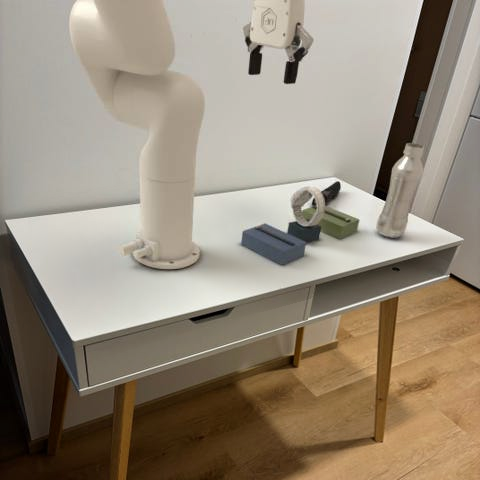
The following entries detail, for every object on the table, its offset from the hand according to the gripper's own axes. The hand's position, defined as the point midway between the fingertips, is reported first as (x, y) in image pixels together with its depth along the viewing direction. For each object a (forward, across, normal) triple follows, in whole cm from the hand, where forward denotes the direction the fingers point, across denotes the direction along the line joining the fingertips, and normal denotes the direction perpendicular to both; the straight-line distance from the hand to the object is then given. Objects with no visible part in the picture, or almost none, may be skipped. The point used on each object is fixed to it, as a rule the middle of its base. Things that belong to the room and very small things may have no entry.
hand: (271, 78), depth 100 cm
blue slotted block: (+28, +17, -13) cm, 36 cm away
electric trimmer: (+29, +6, +21) cm, 36 cm away
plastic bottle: (+28, +28, +15) cm, 42 cm away
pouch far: (+28, +17, +7) cm, 34 cm away
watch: (+28, +17, -3) cm, 33 cm away
